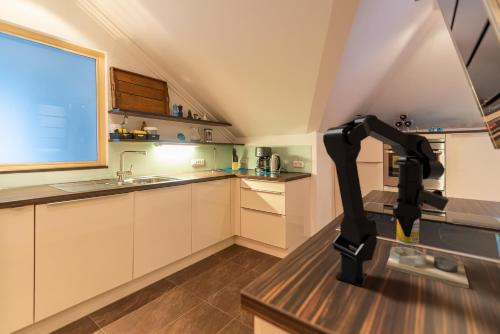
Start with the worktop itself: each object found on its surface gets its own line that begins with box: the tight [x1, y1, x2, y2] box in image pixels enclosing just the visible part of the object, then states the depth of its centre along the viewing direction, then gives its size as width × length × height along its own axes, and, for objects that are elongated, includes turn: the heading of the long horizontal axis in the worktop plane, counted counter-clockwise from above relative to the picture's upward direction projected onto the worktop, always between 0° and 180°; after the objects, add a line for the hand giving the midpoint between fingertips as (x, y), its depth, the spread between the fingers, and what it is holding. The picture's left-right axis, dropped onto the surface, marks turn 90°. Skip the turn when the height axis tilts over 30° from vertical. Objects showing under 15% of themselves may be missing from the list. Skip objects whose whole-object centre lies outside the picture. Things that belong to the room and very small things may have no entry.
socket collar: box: [389, 246, 427, 267], centre depth 69 cm, size 9×9×2 cm
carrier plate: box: [385, 254, 470, 290], centre depth 66 cm, size 14×17×1 cm
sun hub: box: [433, 252, 459, 273], centre depth 63 cm, size 5×5×3 cm
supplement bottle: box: [396, 218, 420, 247], centre depth 68 cm, size 5×5×10 cm
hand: (408, 234), depth 68 cm, fingers closed on supplement bottle, 5 cm apart
